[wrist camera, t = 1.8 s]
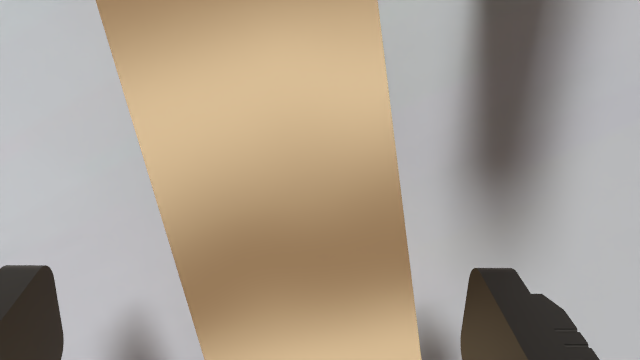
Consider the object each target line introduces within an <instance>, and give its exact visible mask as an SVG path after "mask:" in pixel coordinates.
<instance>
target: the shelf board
mask: <svg viewBox="0 0 640 360" xmlns="http://www.w3.org/2000/svg"><path fill="white" fill-rule="evenodd" d="M96 3H97V6H98V9H99V13H100V16H101V19H102V23H103V26H104V29H105V33H106V36H107V39H108V42H109V46H110V49H111V52H112V56H113V59H114V62H115V65H116V69H117V72H118V75H119V79H120V82H121V85H122V89H123V92H124V95H125V98H126V102H127V105H128V108H129V112H130V115H131V118H132V122H133V125H134V128H135V131H136V135H137V138H138V141H139V145H140V148H141V151H142V155H143V158H144V161H145V164H146V168H147V171H148V174H149V178H150V181H151V184H152V188H153V191H154V194H155V197H156V201H157V204H158V207H159V211H160V214H161V217H162V221H163V224H164V227H165V230H166V234H167V237H168V240H169V244H170V247H171V250H172V254H173V257H174V260H175V263H176V267H177V270H178V273H179V277H180V280H181V283H182V287H183V290H184V293H185V296H186V300H187V303H188V306H189V310H190V313H191V316H192V320H193V323H194V326H195V329H196V333H197V336H198V339H199V343H200V346H201V349H202V353H203V356H204V359H205V360H421V352H420V344H419V336H418V328H417V319H416V311H415V303H414V295H413V287H412V279H411V270H410V262H409V254H408V246H407V238H406V230H405V222H404V213H403V205H402V197H401V189H400V181H399V173H398V164H397V156H396V148H395V140H394V132H393V124H392V115H391V107H390V99H389V91H388V83H387V75H386V66H385V58H384V50H383V42H382V34H381V26H380V18H379V9H378V1H377V0H96Z"/></svg>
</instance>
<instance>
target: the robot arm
mask: <svg viewBox="0 0 640 360" xmlns="http://www.w3.org/2000/svg"><path fill="white" fill-rule="evenodd" d="M62 352H63V330H62V324H61V318H60V312H59V306H58V300H57V294H56V288H55V282H54V276H53V273H52V271H51V269H50V268H49V267H48V266H34V265H6V266H3V267H2V268H1V269H0V360H61V357H62ZM461 355H462V360H599V358H598V357H597V355H596V354H595V353H594V351H593V350H592V348H589V347H588V343H587V342H586V340H585V339H584V337H583V336H582V335H581V333H580V332H577V328H576V326H575V325H574V323H573V322H572V321H571V319H570V318H569V316H568V315H567V314H566V312H565V311H564V310H563V309H562V308H560V307H559V306H558V305H556V304H555V303H554V302H552V301H551V300H549V299H548V298H547V297H545V296H544V295H543V294H531V293H530V292H529V290H528V289H527V287H526V286H525V284H524V283H523V281H522V280H521V278H520V277H519V275H518V274H517V272H516V271H515V270H514V269H512V268H474V269H473V270H472V271H471V274H470V277H469V283H468V290H467V297H466V303H465V310H464V317H463V324H462V331H461Z"/></svg>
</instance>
